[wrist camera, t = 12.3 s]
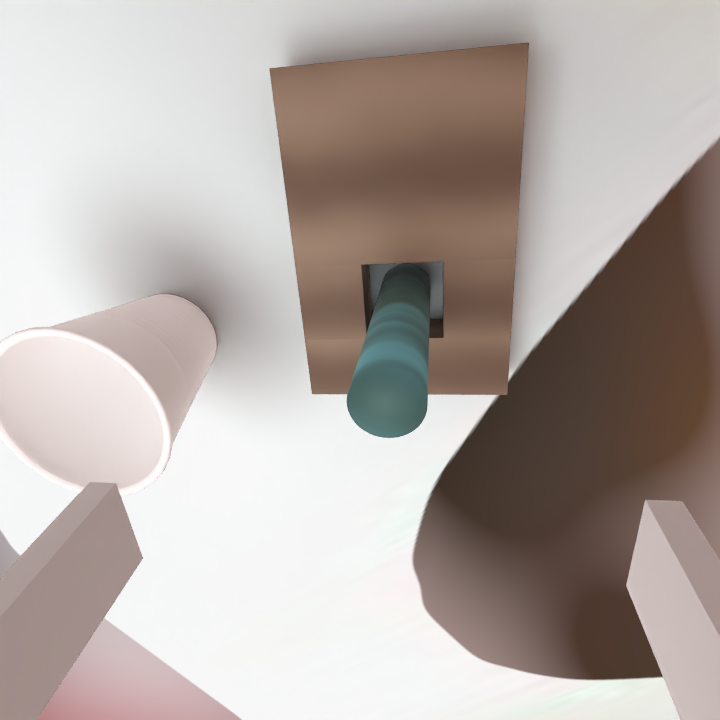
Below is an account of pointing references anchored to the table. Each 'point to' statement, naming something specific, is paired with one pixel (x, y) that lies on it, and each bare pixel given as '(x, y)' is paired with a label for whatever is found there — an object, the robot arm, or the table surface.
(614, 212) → the table surface
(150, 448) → the cup
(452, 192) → the hole plate
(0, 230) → the table surface
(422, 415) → the peg
